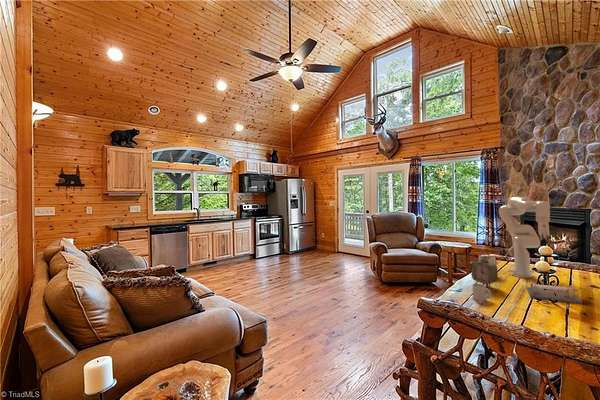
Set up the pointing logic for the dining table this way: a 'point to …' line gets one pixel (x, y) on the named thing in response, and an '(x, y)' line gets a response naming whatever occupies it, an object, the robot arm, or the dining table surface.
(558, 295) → the clamp plate
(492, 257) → the candy bar box
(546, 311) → the dining table surface
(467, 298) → the dining table surface
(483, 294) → the grey rounded lump
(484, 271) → the tabletop clock
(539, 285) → the hold down bar
